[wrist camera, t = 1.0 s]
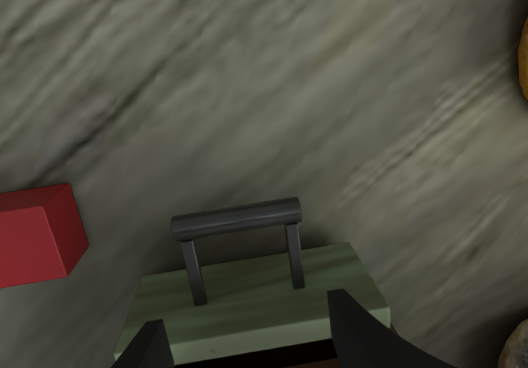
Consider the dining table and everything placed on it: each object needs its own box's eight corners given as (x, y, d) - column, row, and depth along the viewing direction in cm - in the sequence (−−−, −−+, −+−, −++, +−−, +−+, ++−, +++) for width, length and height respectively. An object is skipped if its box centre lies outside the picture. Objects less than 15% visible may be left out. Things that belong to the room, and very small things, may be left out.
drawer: (121, 200, 21) (80, 258, 15) (344, 165, 22) (387, 208, 16) (185, 430, 27) (173, 536, 21) (360, 398, 28) (396, 494, 22)
